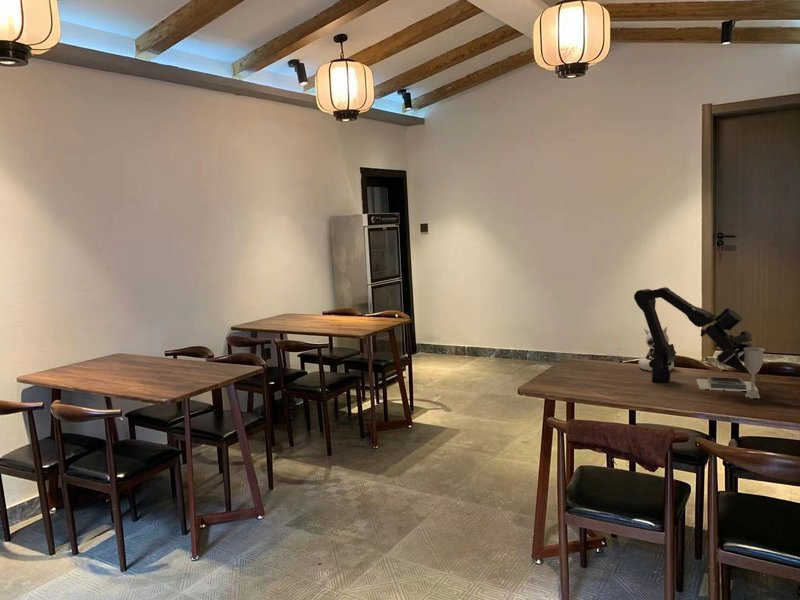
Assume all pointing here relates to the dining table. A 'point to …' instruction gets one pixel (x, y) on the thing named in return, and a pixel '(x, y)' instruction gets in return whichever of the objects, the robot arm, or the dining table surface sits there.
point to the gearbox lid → (724, 384)
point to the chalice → (753, 367)
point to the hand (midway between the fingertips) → (751, 370)
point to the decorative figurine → (652, 351)
